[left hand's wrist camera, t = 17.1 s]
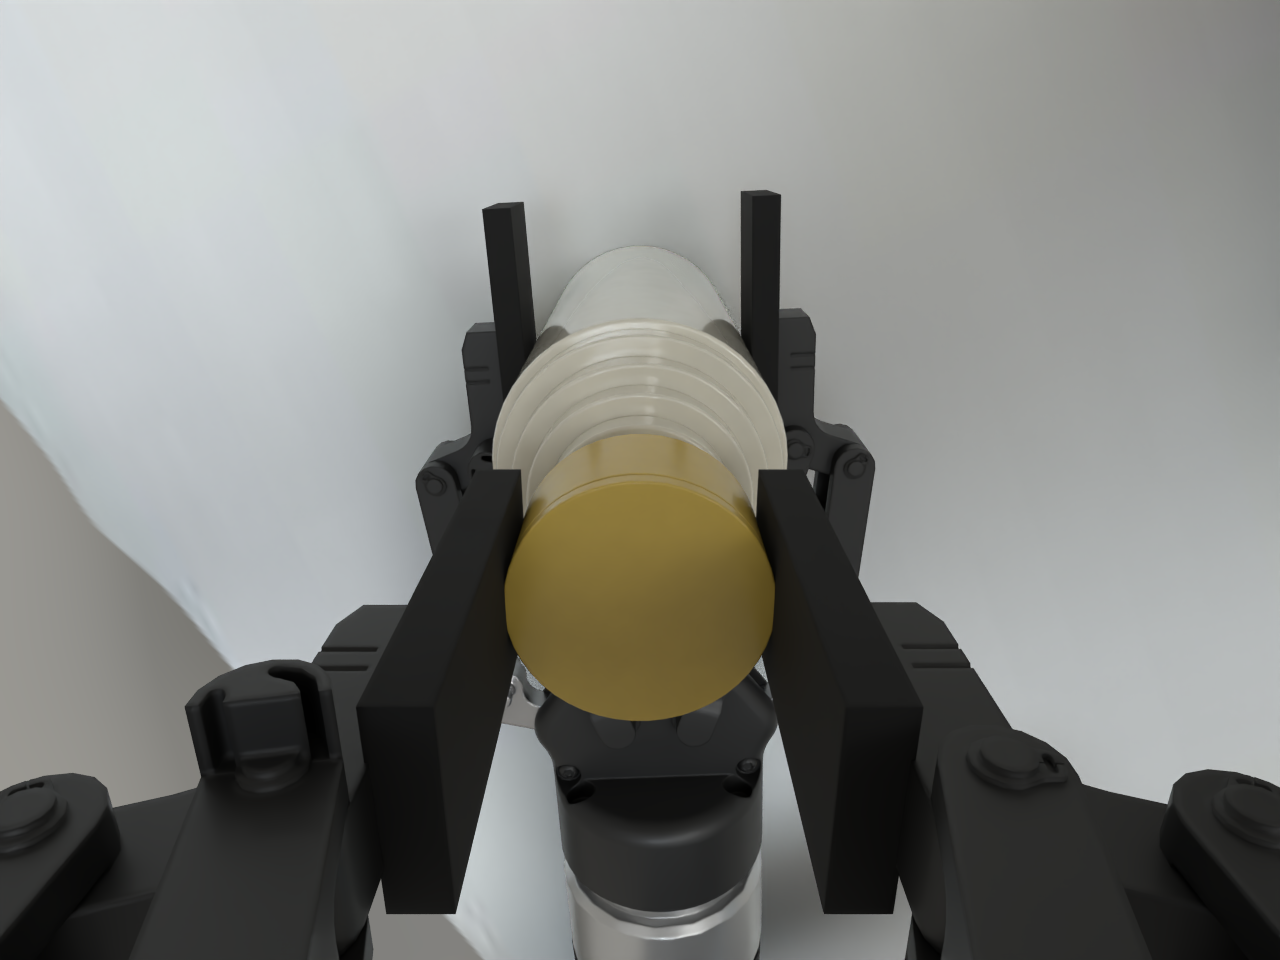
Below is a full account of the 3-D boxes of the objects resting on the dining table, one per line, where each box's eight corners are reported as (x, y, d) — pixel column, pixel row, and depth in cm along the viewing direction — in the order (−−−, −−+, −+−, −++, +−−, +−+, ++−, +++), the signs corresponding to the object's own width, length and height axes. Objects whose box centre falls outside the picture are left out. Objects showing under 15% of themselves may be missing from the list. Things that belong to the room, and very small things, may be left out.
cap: (801, 494, 14) (827, 552, 12) (690, 677, 16) (698, 757, 14) (581, 392, 14) (571, 434, 12) (485, 592, 15) (461, 662, 13)
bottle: (648, 450, 33) (659, 820, 15) (518, 343, 31) (351, 611, 13) (762, 325, 31) (934, 574, 13) (630, 206, 29) (615, 298, 11)
